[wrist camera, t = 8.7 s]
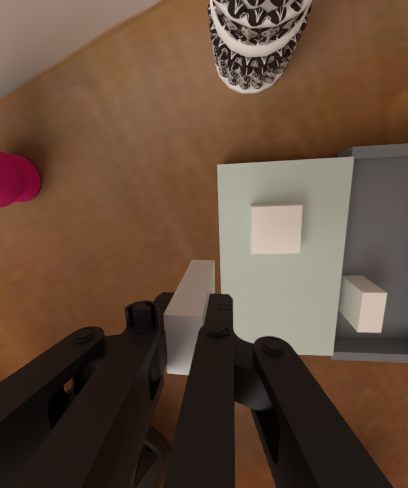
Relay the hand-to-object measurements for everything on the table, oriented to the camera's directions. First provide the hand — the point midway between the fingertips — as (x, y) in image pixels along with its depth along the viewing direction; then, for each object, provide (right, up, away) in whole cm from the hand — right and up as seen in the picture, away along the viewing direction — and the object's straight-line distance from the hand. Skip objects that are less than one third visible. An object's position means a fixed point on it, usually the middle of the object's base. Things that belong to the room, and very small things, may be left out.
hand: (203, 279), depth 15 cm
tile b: (+8, +4, +11) cm, 14 cm away
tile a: (+18, -5, +13) cm, 23 cm away
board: (+9, +1, +16) cm, 19 cm away
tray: (+22, +1, +14) cm, 27 cm away
